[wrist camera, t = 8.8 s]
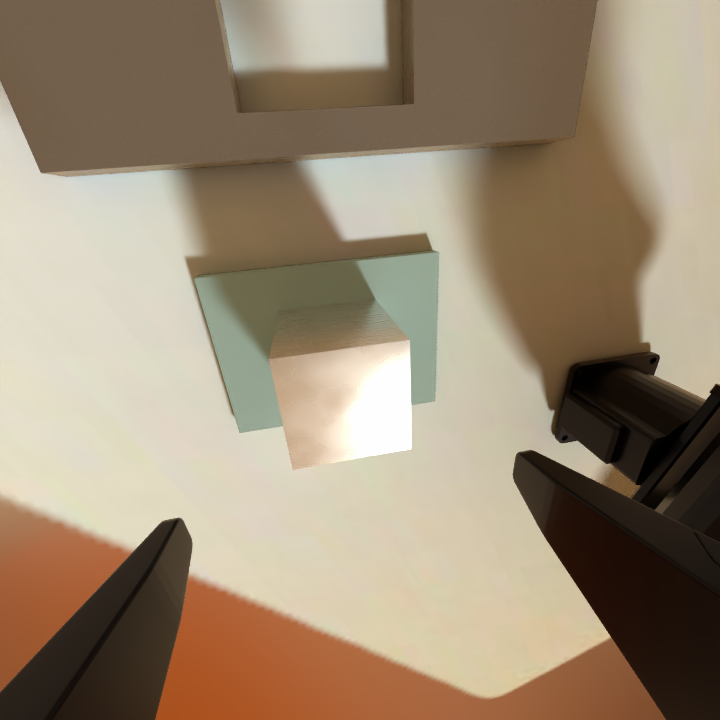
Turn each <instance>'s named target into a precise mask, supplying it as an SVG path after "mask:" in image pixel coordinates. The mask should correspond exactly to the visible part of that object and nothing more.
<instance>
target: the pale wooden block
mask: <svg viewBox="0 0 720 720" xmlns="http://www.w3.org/2000/svg"><path fill="white" fill-rule="evenodd" d="M269 363H270V368H271V372H272V377H273V381H274V386H275V390H276V395H277V399H278V404H279V408H280V413H281V418H282V422H283V427H284V431H285V436H286V440H287V445H288V449H289V454H290V458H291V463H292V467H293V470H294V469H300V468H306V467H311V466H317V465H322V464H328V463H334V462H339V461H345V460H350V459H356V458H362V457H367V456H373V455H378V454H384V453H389V452H395V451H401V450H406V449H411V381H410V339H409V338H408V337H407V336H406V335H405V333H404V332H403V331H402V330H401V329H400V327H399V326H398V325H397V324H396V323H395V322H394V320H393V319H392V318H391V317H390V316H389V314H388V313H387V312H386V311H385V310H384V308H383V307H382V306H381V305H380V304H379V303H378V301H377V300H376V299H370V300H361V301H353V302H345V303H337V304H329V305H320V306H312V307H304V308H296V309H287V310H279V312H278V317H277V322H276V327H275V331H274V336H273V341H272V346H271V351H270V355H269Z"/></svg>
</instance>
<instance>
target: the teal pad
mask: <svg viewBox="0 0 720 720" xmlns="http://www.w3.org/2000/svg"><path fill="white" fill-rule="evenodd" d="M438 271H439V252H437V251H434V250H432V251H423V252H413V253H404V254H395V255H385V256H376V257H367V258H357V259H348V260H339V261H329V262H320V263H311V264H301V265H292V266H283V267H273V268H264V269H254V270H245V271H236V272H226V273H217V274H208V275H199V276H197V277H195V278H194V281H195V284H196V287H197V291H198V294H199V298H200V301H201V304H202V308H203V311H204V314H205V318H206V321H207V325H208V328H209V331H210V335H211V338H212V341H213V345H214V348H215V352H216V355H217V358H218V362H219V365H220V368H221V372H222V375H223V378H224V382H225V385H226V389H227V392H228V395H229V399H230V402H231V405H232V409H233V412H234V416H235V419H236V422H237V426H238V429H239V432H240V433H243V432H249V431H255V430H261V429H267V428H273V427H280V426H283V422H282V418H281V413H280V408H279V404H278V399H277V395H276V390H275V386H274V381H273V377H272V372H271V368H270V363H269V355H270V351H271V346H272V341H273V336H274V331H275V327H276V322H277V317H278V312H279V310H287V309H296V308H304V307H312V306H320V305H329V304H337V303H345V302H353V301H361V300H370V299H376V300H377V301H378V303H379V304H380V305H381V306H382V307H383V308H384V310H385V311H386V312H387V313H388V314H389V316H390V317H391V318H392V319H393V320H394V322H395V323H396V324H397V325H398V326H399V327H400V329H401V330H402V331H403V332H404V333H405V335H406V336H407V337H408V338H409V339H410V381H411V405H414V404H420V403H427V402H433V401H435V390H436V350H437V310H438Z"/></svg>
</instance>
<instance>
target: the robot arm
mask: <svg viewBox="0 0 720 720" xmlns="http://www.w3.org/2000/svg"><path fill="white" fill-rule="evenodd" d="M659 359H660V356H659V355H658V354H656V353H653V352H646V353H639V354H633V355H627V356H620V357H614V358H608V359H601V360H595V361H588V362H582V363H577V364H575V365H573V366H572V367H571V369H570V371H569V375H568V380H567V384H566V389H565V393H564V398H563V402H562V407H561V411H560V415H559V420H558V424H557V429H556V433H555V438H556V440H557V441H559V442H560V443H567V442H573V441H579V442H580V443H581V444H582V445H584V446H585V447H586V448H587V449H588V450H590V451H591V452H592V453H593V454H595V455H596V456H597V457H598V458H599V459H601V460H602V461H603V462H604V463H606V464H612V465H613V466H614V467H615V468H616V469H618V470H619V471H620V472H621V473H623V474H624V475H625V476H626V477H627V478H629V479H630V480H631V481H632V482H634V483H635V484H636V485H640V487H639V488H638V489H637V490H636V492H635V493H634V494H633V496H632V497H631V498H628V497H626V496H624V495H622V494H620V493H618V492H616V491H614V490H612V489H610V488H608V487H606V486H604V485H602V484H600V483H598V482H596V481H594V480H592V479H590V478H588V477H586V476H584V475H582V474H580V473H578V472H576V471H574V470H572V469H570V468H568V467H566V466H564V465H562V464H560V463H558V462H556V461H553V460H551V459H549V458H547V457H545V456H543V455H541V454H539V453H537V452H535V451H533V450H527V451H522V452H518V453H517V454H516V457H515V463H514V469H513V479H514V482H515V484H516V486H517V488H518V489H519V491H520V493H521V495H522V497H523V499H524V501H525V502H526V504H527V506H528V508H529V510H530V512H531V514H532V515H533V517H534V519H535V521H536V523H537V525H538V526H539V528H540V530H541V532H542V533H543V535H544V537H545V538H546V540H547V541H548V543H549V544H550V546H551V547H552V549H553V550H554V552H555V553H556V555H557V556H558V558H559V559H560V561H561V562H562V564H563V565H564V567H565V568H566V570H567V571H568V573H569V574H570V576H571V577H572V579H573V580H574V582H575V583H576V585H577V586H578V588H579V589H580V591H581V592H582V594H583V595H584V597H585V598H586V600H587V601H588V603H589V604H590V606H591V607H592V609H593V610H594V612H595V613H596V615H597V616H598V618H599V620H600V621H601V623H602V624H603V626H604V627H605V629H606V630H607V632H608V633H609V635H610V636H611V638H612V639H613V641H614V642H615V643H616V645H617V646H618V648H619V650H620V651H621V652H622V654H623V656H624V657H625V659H626V660H627V662H628V663H629V665H630V666H631V668H632V669H633V671H634V672H635V674H636V675H637V677H638V678H639V679H640V681H641V682H642V684H643V686H644V687H645V688H646V690H647V691H648V693H649V695H650V696H651V697H652V699H653V700H654V702H655V703H656V705H657V706H658V708H659V710H660V711H661V713H662V714H663V716H664V717H665V719H666V720H720V384H715V386H714V387H713V388H712V390H711V391H710V392H709V393H711V395H710V396H709V397H708V398H707V400H705V399H703V398H701V397H699V396H696V395H694V394H692V393H690V392H688V391H686V390H684V389H681V388H679V387H677V386H675V385H673V384H671V383H669V382H667V381H664V380H662V379H660V378H658V377H656V376H654V374H655V371H656V368H657V365H658V362H659ZM191 553H192V539H191V536H190V534H189V532H188V530H187V527H186V525H185V523H184V521H183V520H182V519H181V518H174V519H169V520H165V521H163V522H161V523H160V524H159V525H158V526H157V527H156V528H155V529H154V530H153V531H152V532H151V534H150V535H149V536H148V537H147V538H146V539H145V540H144V541H143V542H142V543H141V544H140V545H139V546H138V547H137V548H136V549H135V550H134V551H133V553H132V554H131V555H130V556H129V557H128V558H127V559H126V560H125V561H124V562H123V563H122V564H121V565H120V566H119V567H118V568H117V570H116V571H115V572H114V573H113V574H112V575H111V576H110V577H109V578H108V579H107V580H106V581H105V582H104V583H103V584H102V585H101V586H100V587H99V588H98V589H97V591H96V592H95V593H94V594H93V595H92V596H91V597H90V598H89V599H88V600H87V601H86V602H85V603H84V604H83V605H82V607H80V608H79V610H78V611H77V612H76V613H75V614H74V615H73V616H72V617H71V618H70V619H69V620H68V621H67V622H66V623H65V624H64V625H63V626H62V628H61V629H60V630H59V631H58V632H57V633H56V634H55V635H54V636H53V637H52V638H51V639H50V640H49V641H48V642H47V643H46V645H44V647H43V648H42V649H41V650H40V651H39V652H38V653H37V654H36V655H35V656H34V657H33V658H32V659H31V660H30V661H29V662H28V663H27V664H26V665H25V667H24V668H23V669H22V670H21V671H20V672H19V673H18V674H17V675H16V676H15V677H14V678H13V679H12V680H11V681H10V682H9V683H8V684H7V686H6V687H5V688H4V689H3V690H2V691H1V692H0V720H155V718H156V714H157V710H158V706H159V703H160V699H161V695H162V691H163V687H164V683H165V679H166V675H167V672H168V668H169V664H170V660H171V656H172V652H173V648H174V644H175V641H176V637H177V633H178V629H179V624H180V620H181V616H182V610H183V604H184V598H185V591H186V585H187V579H188V573H189V566H190V560H191Z"/></svg>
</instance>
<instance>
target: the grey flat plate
mask: <svg viewBox="0 0 720 720" xmlns="http://www.w3.org/2000/svg"><path fill="white" fill-rule="evenodd" d="M596 6H597V0H402V47H403V105H386V106H367V107H347V108H328V109H309V110H289V111H270V112H251V113H241V108H240V103H239V98H238V92H237V87H236V82H235V77H234V72H233V66H232V61H231V56H230V51H229V46H228V40H227V35H226V30H225V25H224V19H223V14H222V9H221V4H220V0H0V80H1V83H2V85H3V87H4V90H5V92H6V94H7V96H8V99H9V101H10V103H11V106H12V108H13V110H14V112H15V115H16V117H17V119H18V122H19V124H20V126H21V128H22V131H23V133H24V135H25V138H26V140H27V142H28V144H29V147H30V149H31V151H32V154H33V156H34V158H35V160H36V163H37V165H38V167H39V170H40V172H41V173H44V174H51V175H58V176H66V177H69V176H84V175H98V174H112V173H127V172H141V171H155V170H170V169H184V168H198V167H213V166H227V165H241V164H256V163H270V162H284V161H299V160H313V159H327V158H342V157H356V156H370V155H384V154H399V153H413V152H427V151H442V150H456V149H470V148H485V147H499V146H513V145H528V144H542V143H552V142H556V141H560V140H564V139H568V138H571V137H574V134H575V128H576V122H577V116H578V111H579V105H580V99H581V93H582V87H583V81H584V76H585V70H586V64H587V58H588V52H589V47H590V41H591V35H592V29H593V23H594V17H595V12H596Z"/></svg>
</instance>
